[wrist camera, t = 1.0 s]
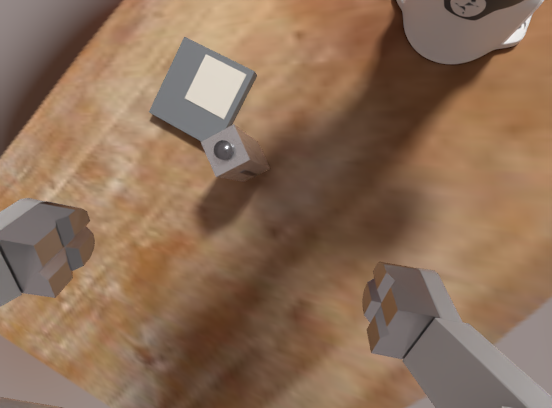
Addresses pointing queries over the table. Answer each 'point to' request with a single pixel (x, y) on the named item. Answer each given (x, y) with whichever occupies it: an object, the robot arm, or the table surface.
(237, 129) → the aluminium block
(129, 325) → the table surface
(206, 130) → the dock board
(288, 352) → the table surface
